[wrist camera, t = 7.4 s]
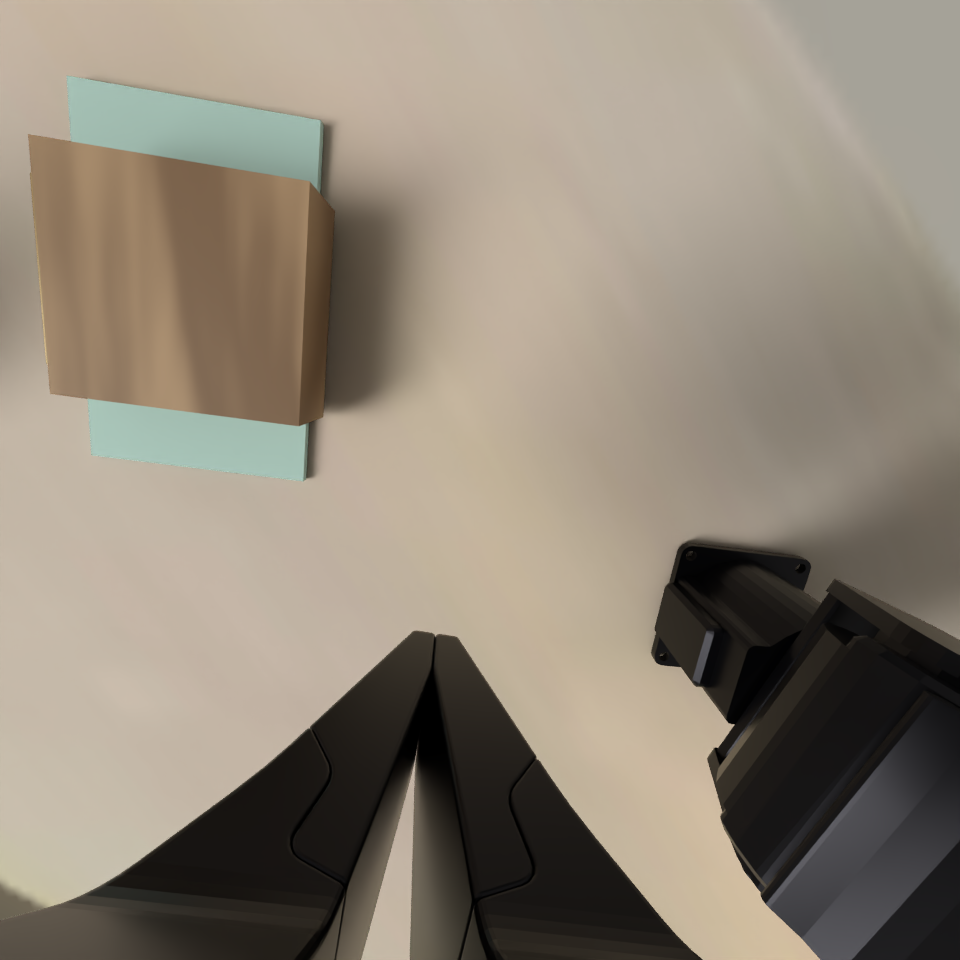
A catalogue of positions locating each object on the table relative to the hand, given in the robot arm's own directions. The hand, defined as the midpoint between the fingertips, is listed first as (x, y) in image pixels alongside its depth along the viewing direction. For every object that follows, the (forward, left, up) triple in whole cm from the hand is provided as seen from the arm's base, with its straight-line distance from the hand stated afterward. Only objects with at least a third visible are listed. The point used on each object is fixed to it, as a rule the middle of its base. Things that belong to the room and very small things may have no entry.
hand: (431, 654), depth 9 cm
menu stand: (+6, -6, -11) cm, 14 cm away
